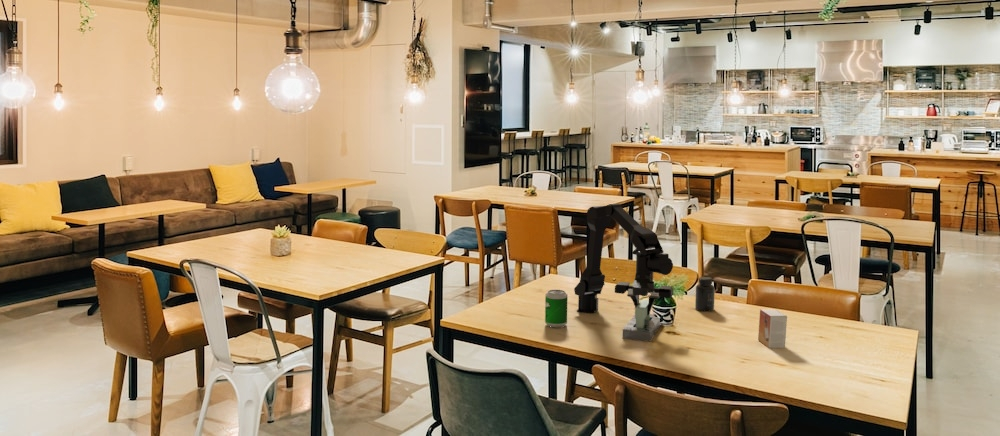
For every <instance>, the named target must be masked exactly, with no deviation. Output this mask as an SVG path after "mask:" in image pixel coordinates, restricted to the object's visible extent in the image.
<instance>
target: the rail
mask: <svg viewBox="0 0 1000 436" xmlns="http://www.w3.org/2000/svg"><path fill="white" fill-rule="evenodd" d="M654 315H655V314H653V313H652V314H651V313H650V320H644V328H637V327H636V319H635V314H634V315H632V318H630V320H629V321H628V322H627V323H626V325H625V326H624V327H623V329H622V339H626V340H633V341H634V340H635V341H640V342H642V341H643V342H651V341H652V339H653V338H654V336H655V335H656V333H657V331H659V329H660V327H661V326H660V318H657V317H655V316H654Z"/></svg>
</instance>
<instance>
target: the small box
mask: <svg viewBox="0 0 1000 436" xmlns="http://www.w3.org/2000/svg"><path fill="white" fill-rule="evenodd" d="M758 321H759V322H758V335H757V336H758V338H757V341H758V342H760V343H762V344H763V345H764V346H766V348H768V349H776V348H777V349H780V348H781V349H782V348H786V341H787V339H786V338H787V325H788V324H787V323H788V322H787V321H788V316H787V315H786V314H784V313H782V312H781V311H780V310H778V309H777V308H776V309H774V308H770V309H769V308H767V309H766V308H765V309H763V308H762V309H760V310H759V320H758Z"/></svg>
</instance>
